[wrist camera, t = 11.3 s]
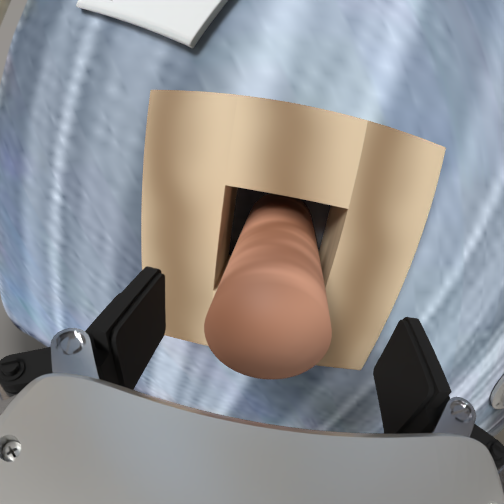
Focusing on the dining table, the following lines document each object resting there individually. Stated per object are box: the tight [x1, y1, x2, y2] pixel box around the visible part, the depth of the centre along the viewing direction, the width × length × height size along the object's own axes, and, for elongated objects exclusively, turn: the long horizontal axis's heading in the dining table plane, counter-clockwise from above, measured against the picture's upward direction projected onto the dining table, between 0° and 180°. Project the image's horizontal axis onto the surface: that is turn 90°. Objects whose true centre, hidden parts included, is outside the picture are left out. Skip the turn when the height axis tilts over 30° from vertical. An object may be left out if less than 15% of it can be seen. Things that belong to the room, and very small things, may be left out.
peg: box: [204, 193, 332, 379], centre depth 15 cm, size 4×4×12 cm
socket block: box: [142, 90, 446, 370], centre depth 19 cm, size 16×16×5 cm
